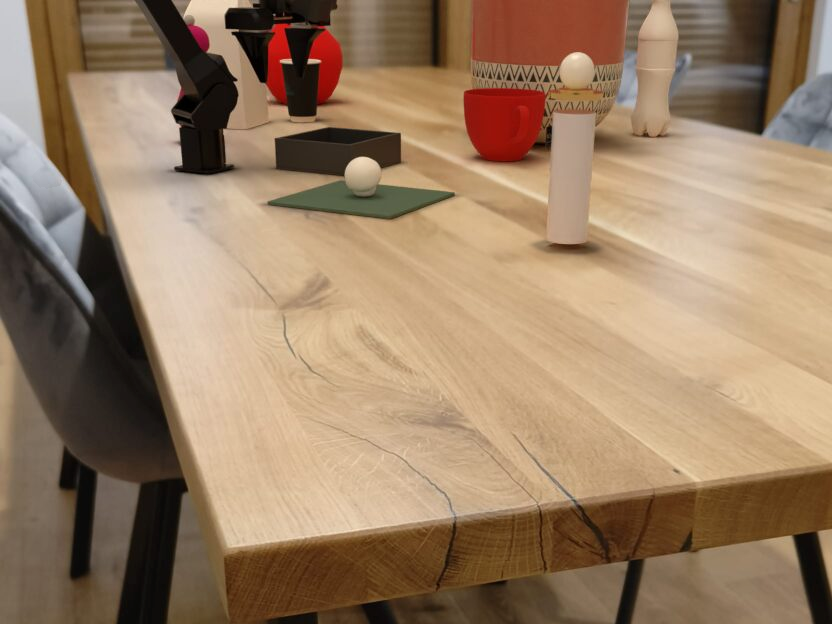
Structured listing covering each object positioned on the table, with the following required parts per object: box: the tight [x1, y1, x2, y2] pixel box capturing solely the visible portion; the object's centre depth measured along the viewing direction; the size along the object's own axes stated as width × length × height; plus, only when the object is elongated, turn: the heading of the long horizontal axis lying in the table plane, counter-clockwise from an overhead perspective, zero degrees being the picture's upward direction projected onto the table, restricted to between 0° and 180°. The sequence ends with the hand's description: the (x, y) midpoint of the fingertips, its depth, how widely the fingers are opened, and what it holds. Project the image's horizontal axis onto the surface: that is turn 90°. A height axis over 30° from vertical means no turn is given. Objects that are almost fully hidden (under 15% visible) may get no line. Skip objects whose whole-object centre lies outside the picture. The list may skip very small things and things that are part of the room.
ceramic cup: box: [463, 88, 546, 162], centre depth 175 cm, size 13×17×10 cm
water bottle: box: [630, 0, 680, 138], centre depth 200 cm, size 7×7×25 cm
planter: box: [470, 0, 631, 144], centre depth 191 cm, size 27×27×27 cm
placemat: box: [267, 179, 456, 220], centre depth 146 cm, size 18×18×1 cm
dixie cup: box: [280, 59, 321, 123], centre depth 215 cm, size 8×8×11 cm
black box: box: [274, 126, 402, 177], centre depth 170 cm, size 15×13×4 cm
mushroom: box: [344, 157, 383, 197], centre depth 145 cm, size 5×5×5 cm
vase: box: [265, 13, 344, 105], centre depth 239 cm, size 18×18×30 cm
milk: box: [182, 0, 270, 130], centre depth 206 cm, size 12×12×26 cm
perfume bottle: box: [544, 52, 603, 245], centre depth 119 cm, size 6×6×20 cm
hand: (282, 80), depth 166 cm, fingers open, 9 cm apart
